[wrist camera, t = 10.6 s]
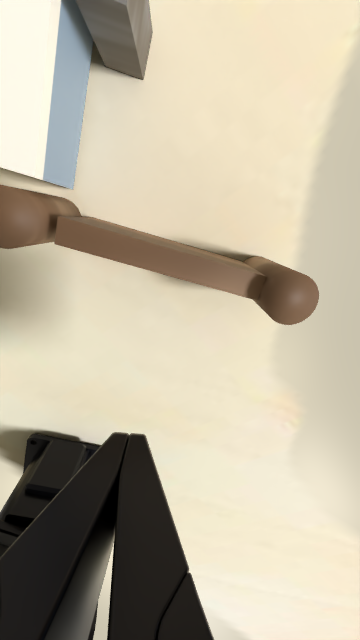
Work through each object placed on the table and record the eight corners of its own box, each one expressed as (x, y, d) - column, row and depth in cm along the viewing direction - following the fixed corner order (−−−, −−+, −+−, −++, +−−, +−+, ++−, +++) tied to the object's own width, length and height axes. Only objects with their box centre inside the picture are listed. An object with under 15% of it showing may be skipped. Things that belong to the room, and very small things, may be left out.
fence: (265, 296, 18) (304, 330, 13) (39, 233, 17) (-30, 239, 11) (342, 103, 15) (447, 30, 9) (63, -2, 13) (-22, -172, 7)
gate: (47, 181, 15) (-13, 163, 10) (80, -133, 11) (8, -400, 6) (78, 191, 16) (34, 177, 11) (122, -115, 12) (84, -359, 7)
